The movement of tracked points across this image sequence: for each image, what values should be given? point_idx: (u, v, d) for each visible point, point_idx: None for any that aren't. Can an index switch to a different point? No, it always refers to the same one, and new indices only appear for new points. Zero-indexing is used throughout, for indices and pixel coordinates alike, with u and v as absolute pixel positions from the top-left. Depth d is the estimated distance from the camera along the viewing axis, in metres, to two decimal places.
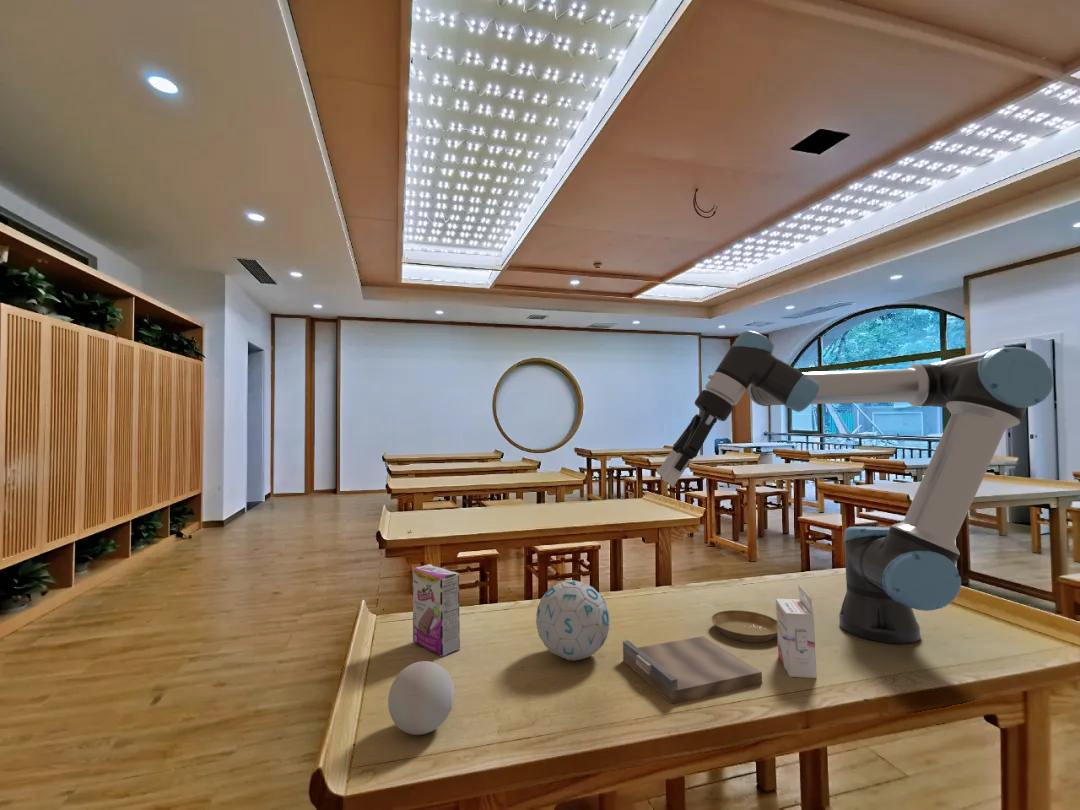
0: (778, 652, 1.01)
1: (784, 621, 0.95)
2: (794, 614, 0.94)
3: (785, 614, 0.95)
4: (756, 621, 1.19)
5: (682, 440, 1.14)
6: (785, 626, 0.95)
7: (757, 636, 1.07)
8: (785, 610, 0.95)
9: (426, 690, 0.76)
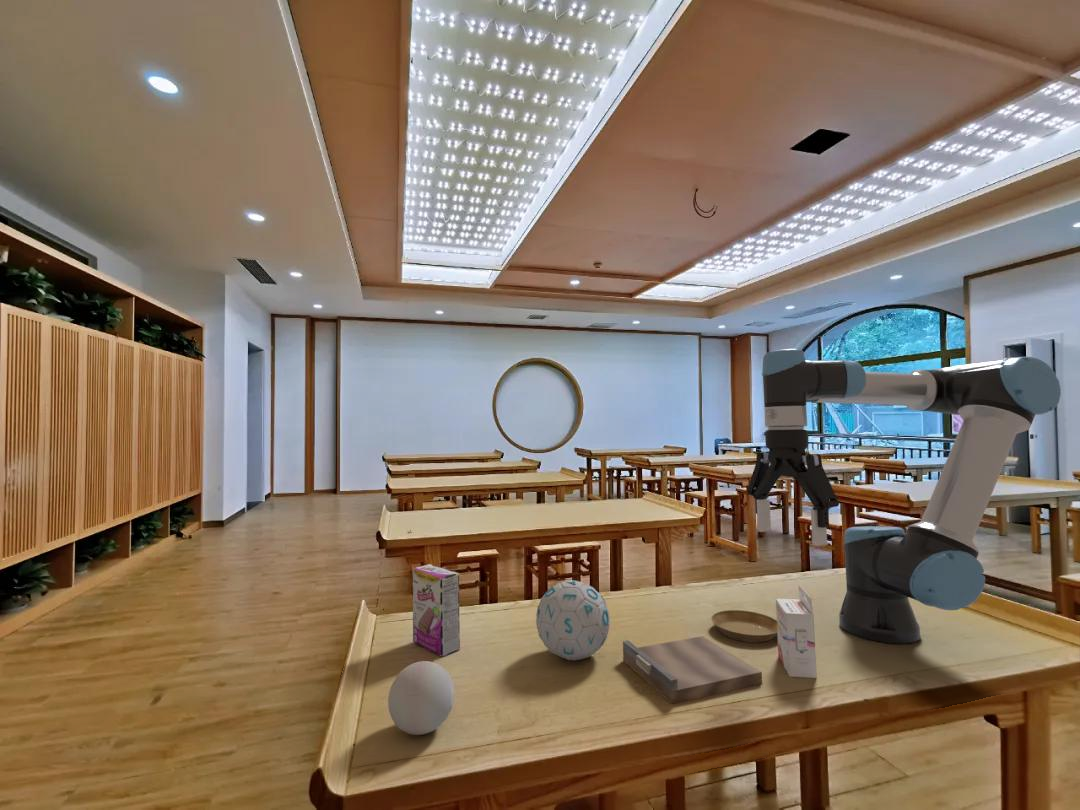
0: (778, 652, 1.01)
1: (784, 621, 0.95)
2: (794, 614, 0.94)
3: (785, 614, 0.95)
4: (756, 621, 1.19)
5: (766, 486, 1.03)
6: (785, 626, 0.95)
7: (757, 636, 1.07)
8: (785, 610, 0.95)
9: (426, 690, 0.76)
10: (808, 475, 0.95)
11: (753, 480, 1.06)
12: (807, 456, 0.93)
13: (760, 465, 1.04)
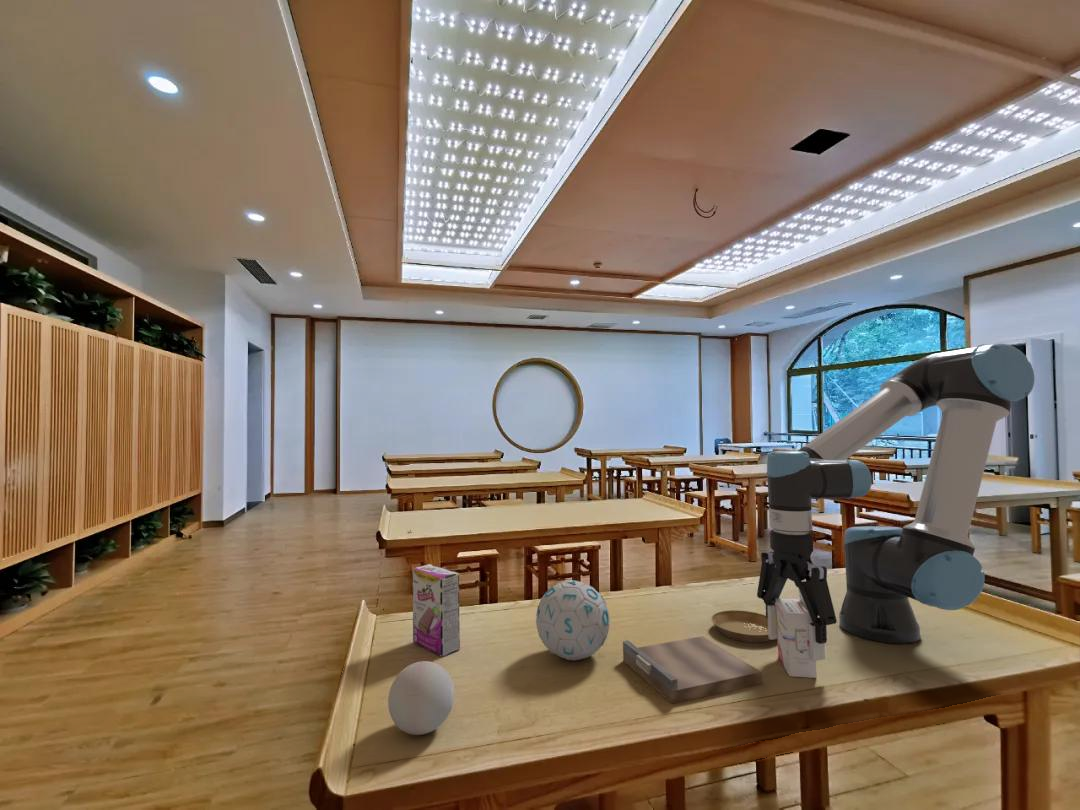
0: (778, 652, 1.01)
1: (784, 621, 0.95)
2: (794, 614, 0.94)
3: (785, 614, 0.95)
4: (756, 621, 1.19)
5: (775, 590, 1.01)
6: (785, 626, 0.95)
7: (757, 636, 1.07)
8: (785, 610, 0.95)
9: (426, 690, 0.76)
10: (811, 584, 0.95)
11: (761, 582, 1.04)
12: (813, 569, 0.92)
13: (766, 566, 1.03)
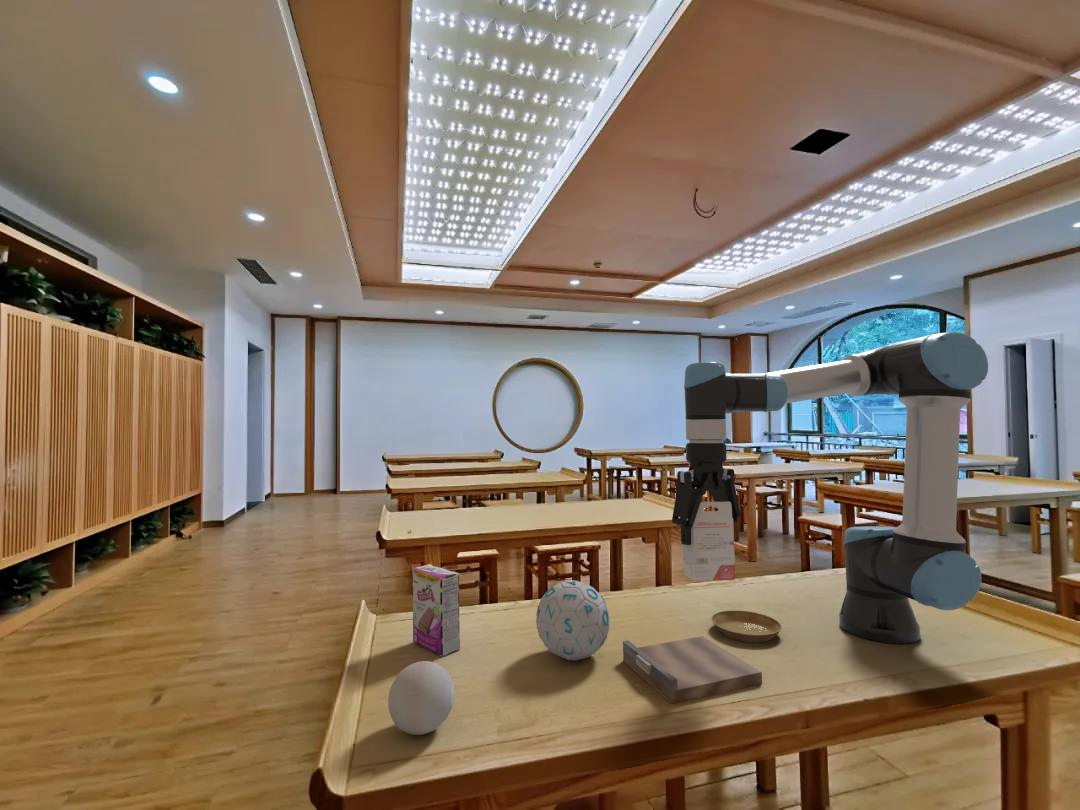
0: None
1: None
2: None
3: None
4: (756, 621, 1.19)
5: None
6: None
7: (757, 636, 1.07)
8: None
9: (426, 690, 0.76)
10: (697, 492, 0.95)
11: None
12: None
13: None
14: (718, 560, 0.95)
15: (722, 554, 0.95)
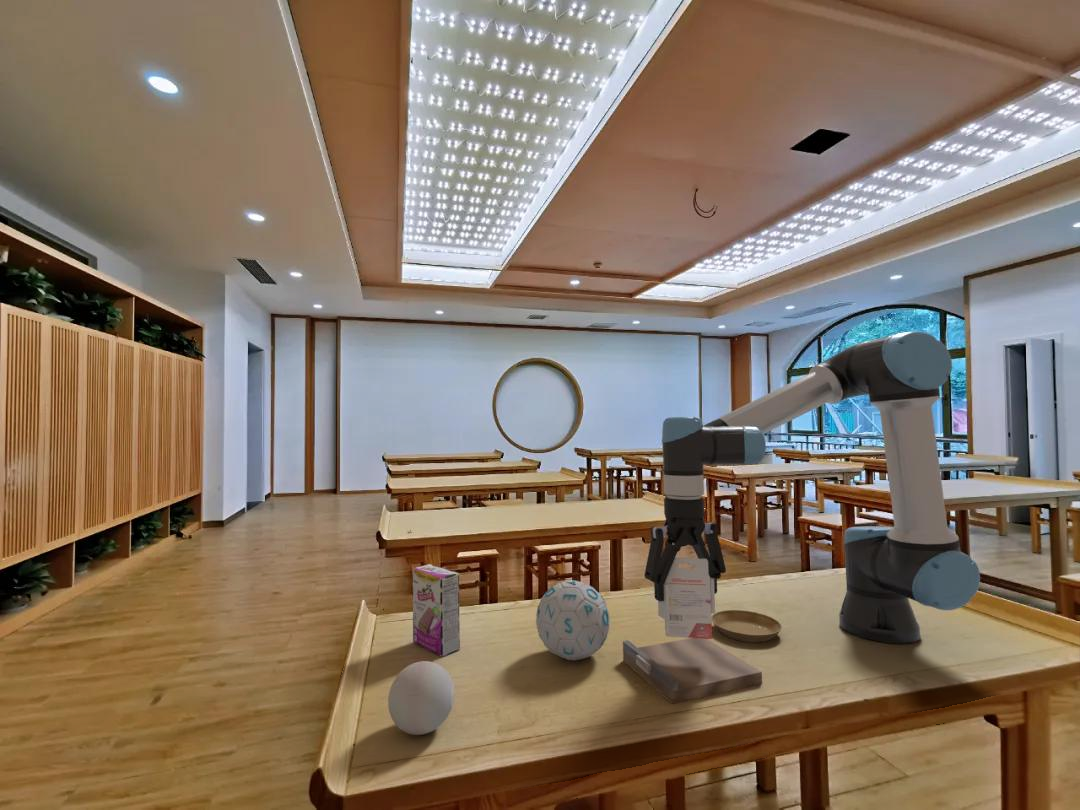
0: None
1: None
2: None
3: None
4: (756, 621, 1.19)
5: (699, 558, 0.99)
6: None
7: (757, 636, 1.07)
8: None
9: (426, 690, 0.76)
10: (671, 548, 0.95)
11: None
12: None
13: None
14: (693, 618, 0.94)
15: (698, 612, 0.94)
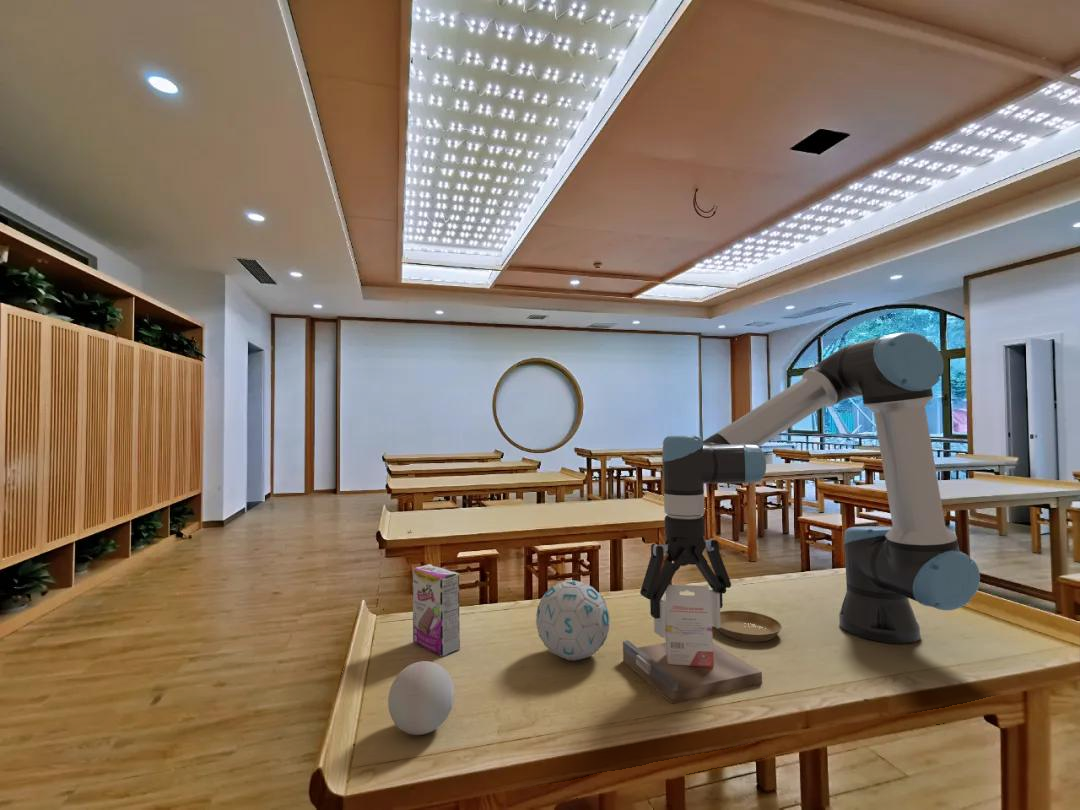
0: None
1: None
2: (664, 596, 0.99)
3: None
4: (756, 621, 1.19)
5: (703, 574, 0.99)
6: None
7: (757, 636, 1.07)
8: None
9: (426, 690, 0.76)
10: (670, 566, 0.95)
11: None
12: None
13: None
14: (695, 645, 0.94)
15: (699, 640, 0.94)
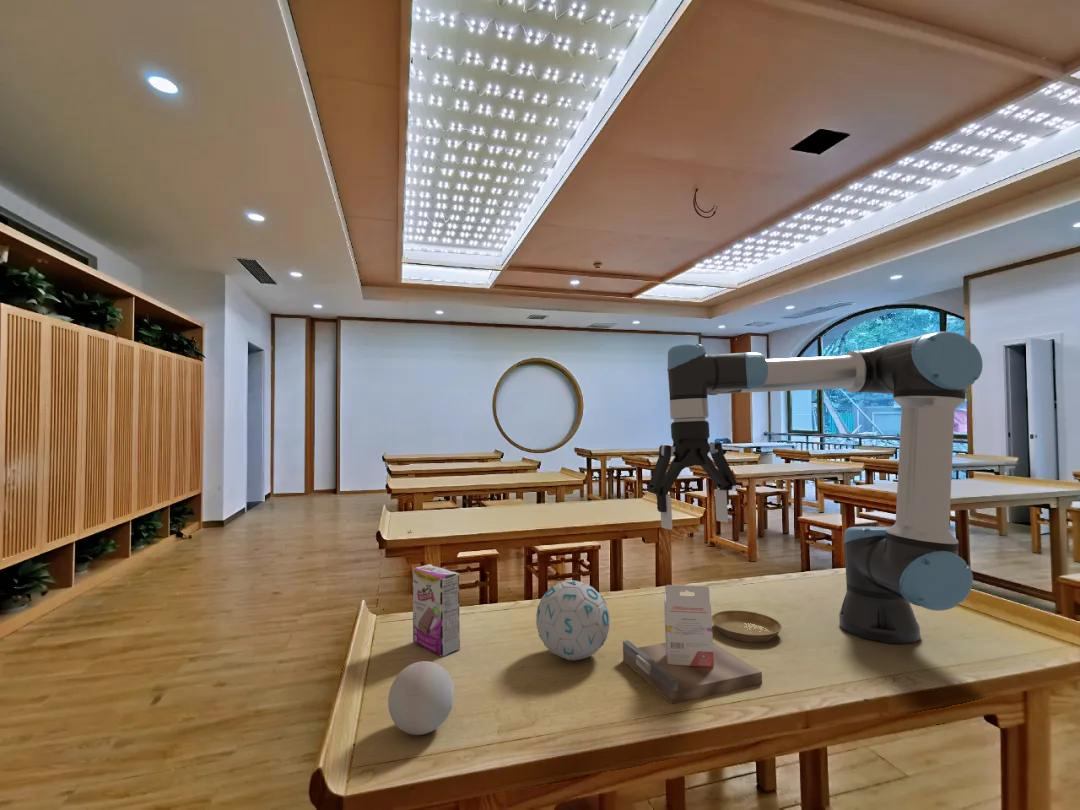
0: None
1: None
2: (664, 597, 0.99)
3: None
4: (756, 621, 1.19)
5: (710, 476, 1.05)
6: None
7: (758, 636, 1.07)
8: None
9: (426, 690, 0.76)
10: (677, 465, 1.01)
11: None
12: None
13: (711, 455, 1.06)
14: (695, 646, 0.94)
15: (699, 640, 0.94)
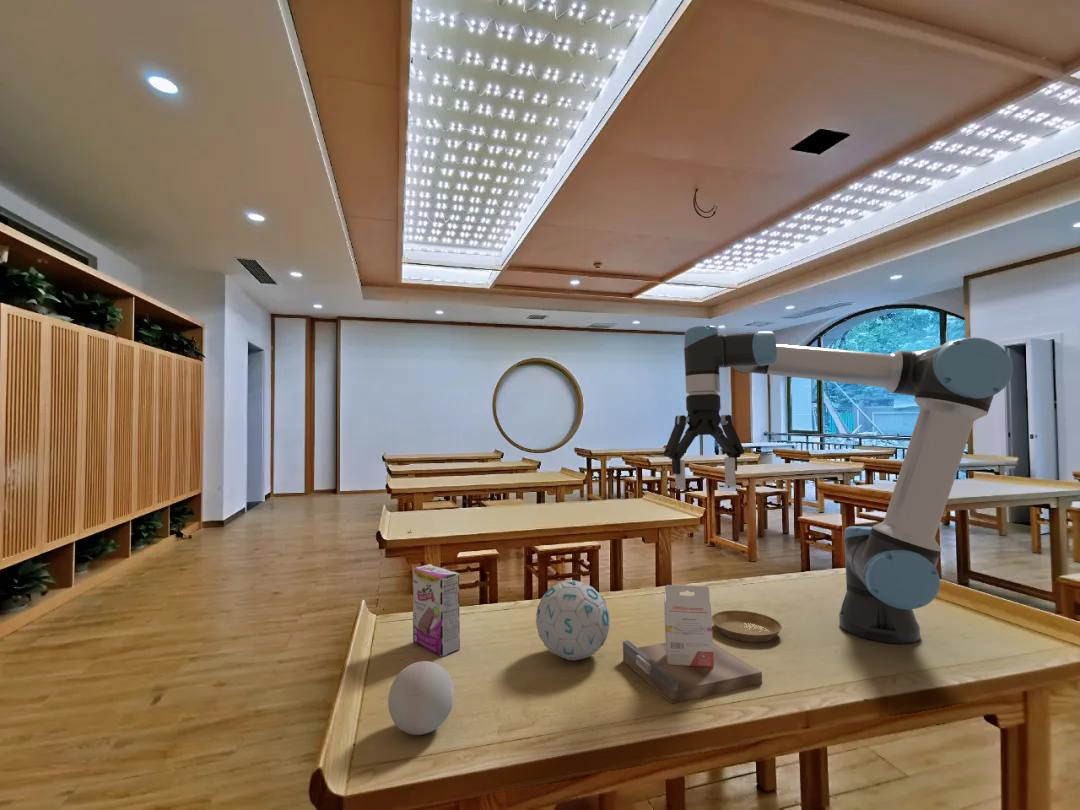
0: None
1: None
2: (664, 597, 0.99)
3: None
4: (756, 621, 1.19)
5: (720, 444, 1.18)
6: None
7: (758, 636, 1.07)
8: None
9: (426, 690, 0.76)
10: (691, 433, 1.13)
11: None
12: None
13: None
14: (695, 646, 0.94)
15: (699, 640, 0.94)
